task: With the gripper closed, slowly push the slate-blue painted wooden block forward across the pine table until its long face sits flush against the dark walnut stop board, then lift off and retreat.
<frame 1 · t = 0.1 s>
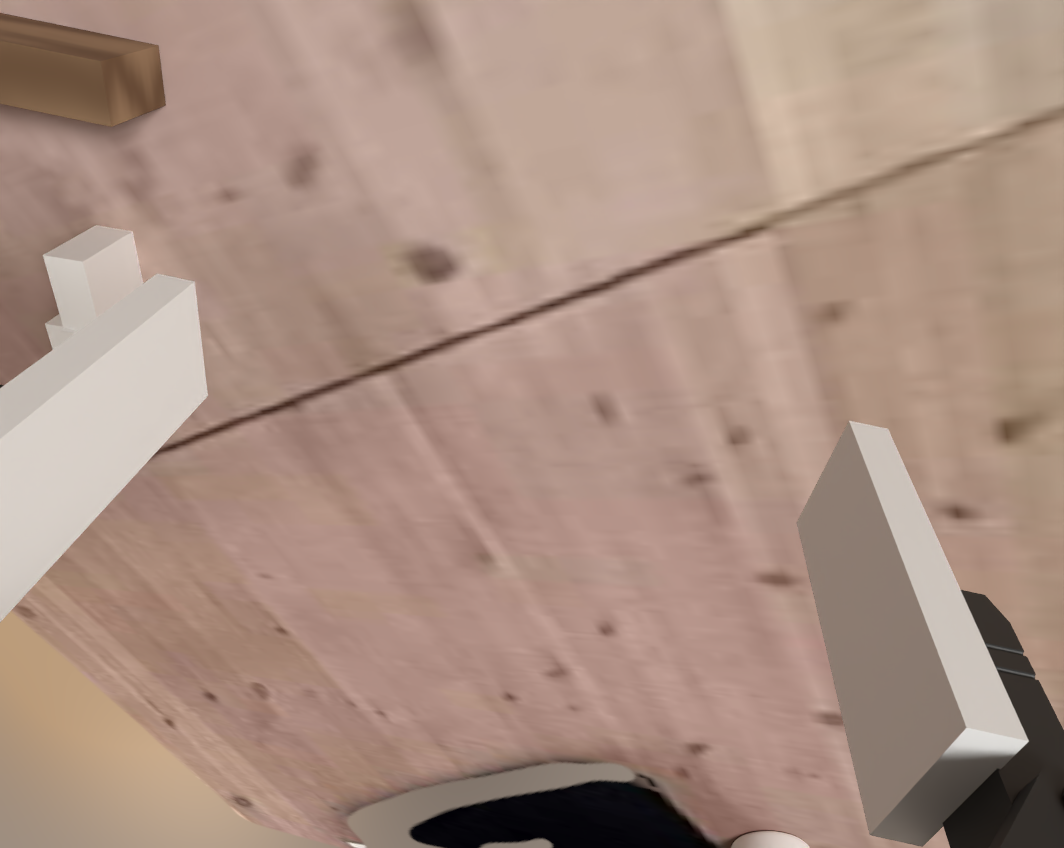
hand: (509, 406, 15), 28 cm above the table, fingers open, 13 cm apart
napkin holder: (136, 301, 49), on the table
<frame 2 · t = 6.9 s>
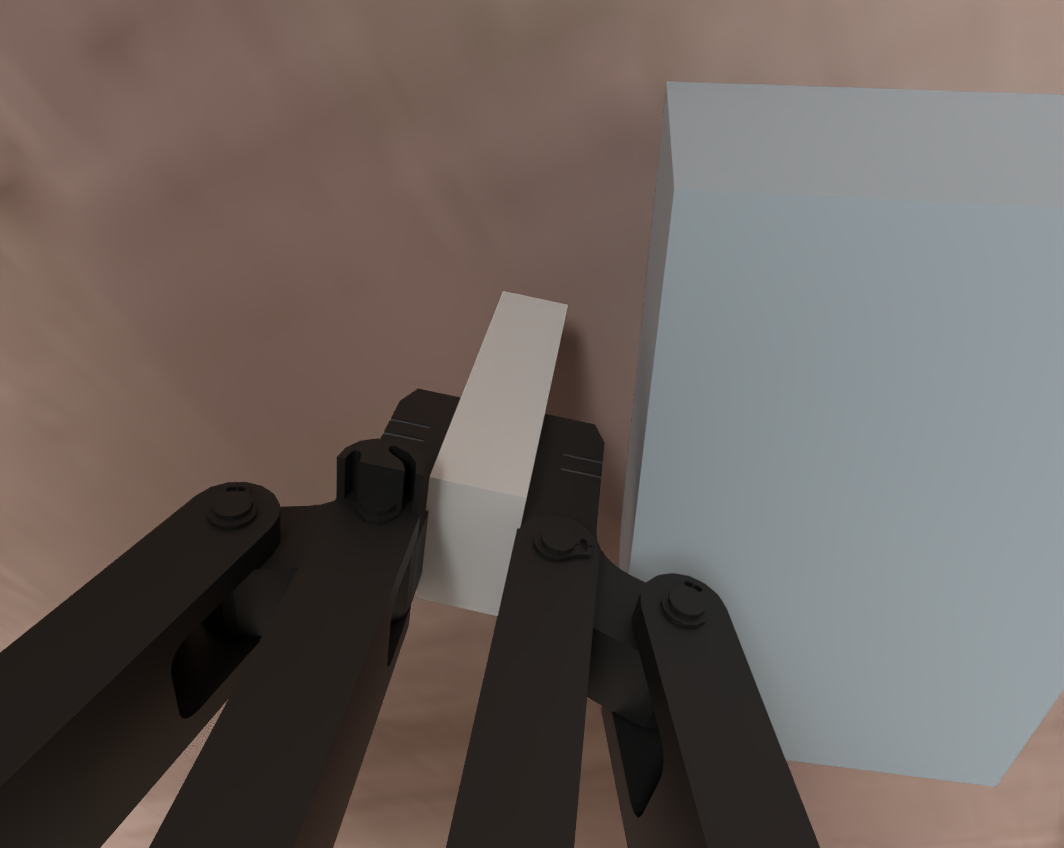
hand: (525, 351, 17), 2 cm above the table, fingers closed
block: (805, 353, 18), on the table, touching gripper
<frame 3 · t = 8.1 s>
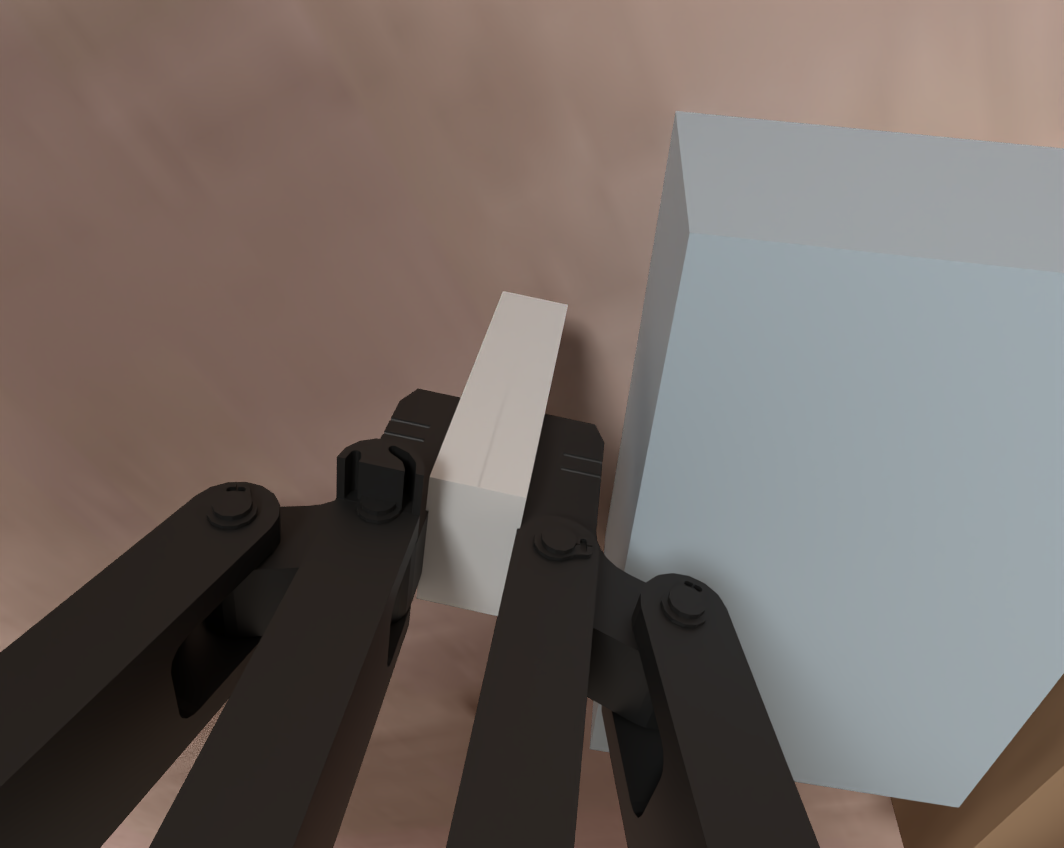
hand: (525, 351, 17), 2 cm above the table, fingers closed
block: (794, 380, 18), on the table
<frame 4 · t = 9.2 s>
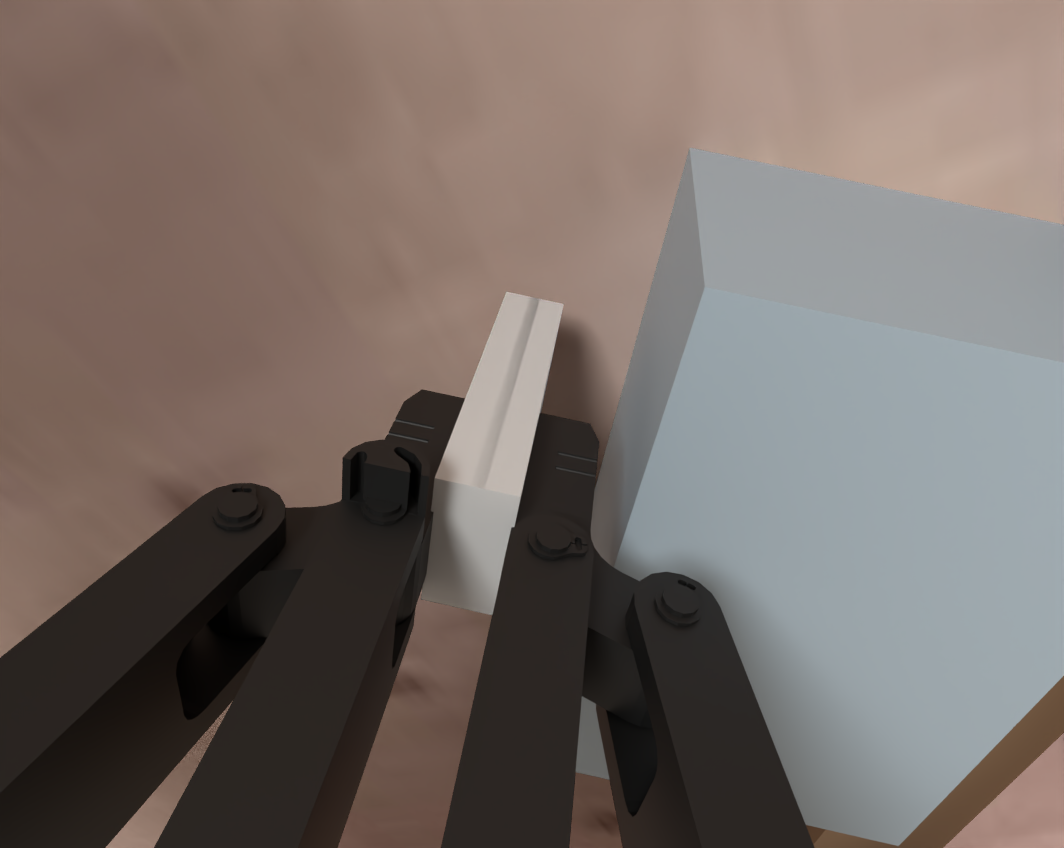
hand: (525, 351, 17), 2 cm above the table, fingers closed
block: (777, 418, 19), on the table, touching gripper, stop board
stop board: (1026, 418, 18), on the table
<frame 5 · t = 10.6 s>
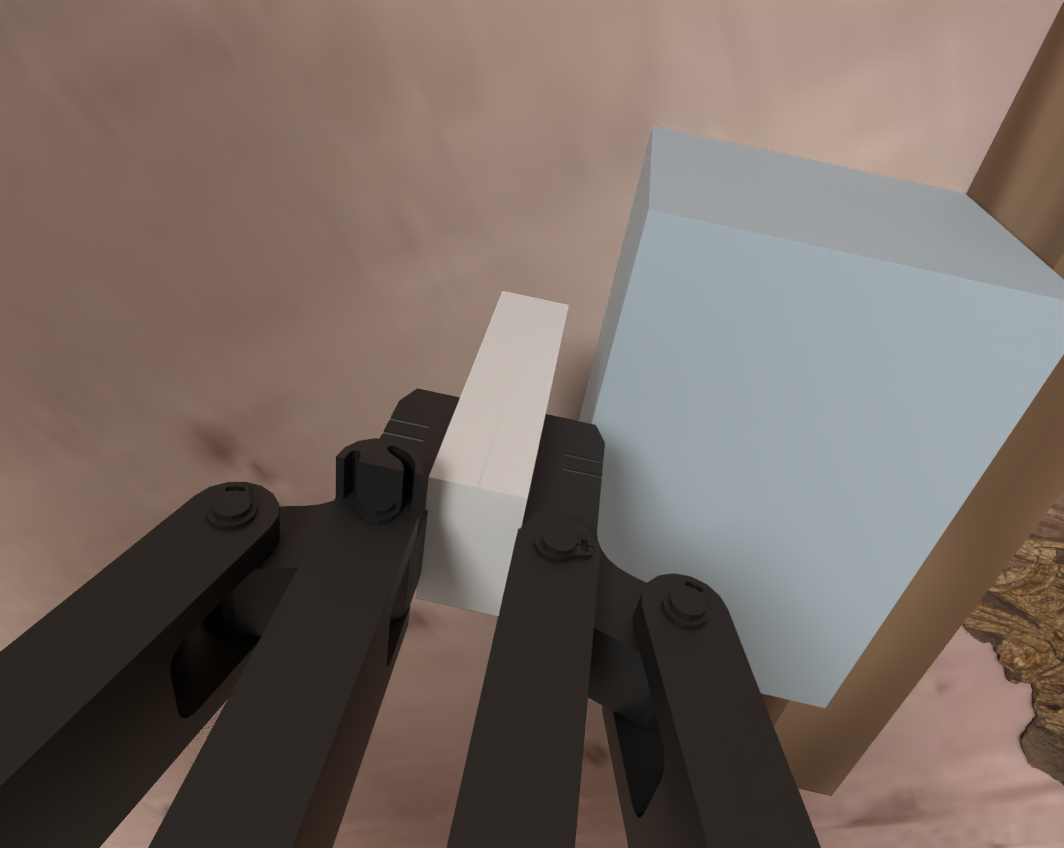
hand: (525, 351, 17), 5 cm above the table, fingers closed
block: (730, 358, 22), on the table
stop board: (940, 359, 21), on the table
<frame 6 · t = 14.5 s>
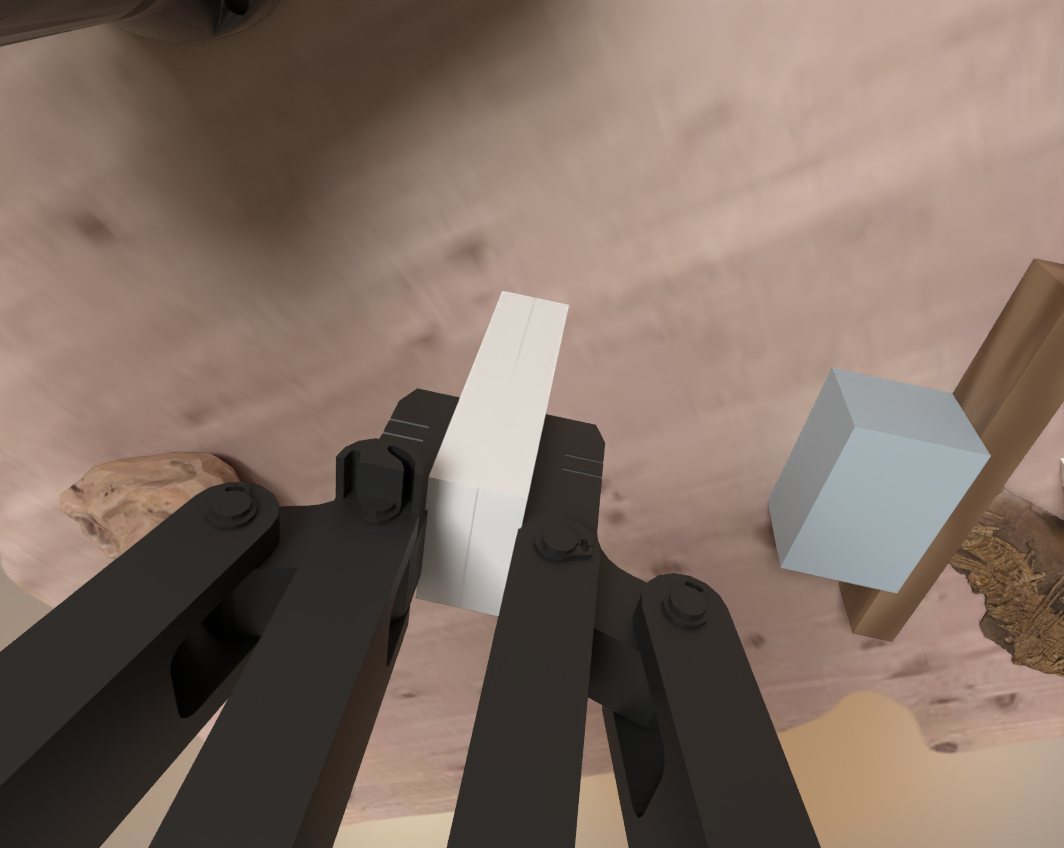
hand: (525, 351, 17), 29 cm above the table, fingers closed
wooden fragment: (1050, 595, 57), on the table
rock: (186, 480, 63), on the table
block: (853, 449, 52), on the table
stop board: (942, 451, 51), on the table
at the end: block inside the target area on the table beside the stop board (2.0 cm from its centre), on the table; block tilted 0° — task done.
